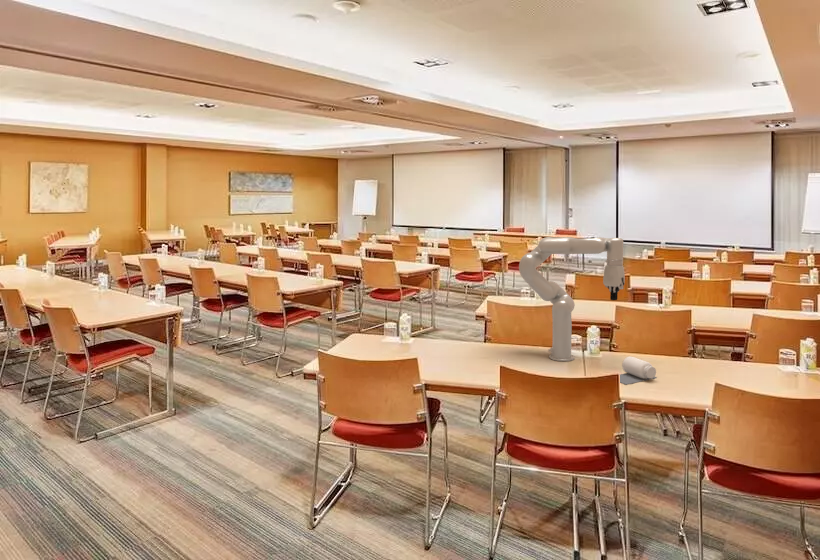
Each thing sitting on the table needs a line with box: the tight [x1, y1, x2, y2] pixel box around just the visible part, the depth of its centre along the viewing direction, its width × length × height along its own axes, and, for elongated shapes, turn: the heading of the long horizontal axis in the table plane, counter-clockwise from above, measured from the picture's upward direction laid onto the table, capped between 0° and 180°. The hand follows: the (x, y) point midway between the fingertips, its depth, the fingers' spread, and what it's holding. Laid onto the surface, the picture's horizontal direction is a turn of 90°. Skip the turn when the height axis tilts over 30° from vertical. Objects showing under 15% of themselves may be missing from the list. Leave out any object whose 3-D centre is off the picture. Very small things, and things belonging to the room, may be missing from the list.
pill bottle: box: [621, 356, 657, 379], centre depth 269 cm, size 8×8×15 cm
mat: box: [619, 372, 658, 386], centre depth 269 cm, size 12×20×1 cm, turn 119°
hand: (613, 299), depth 291 cm, fingers closed
